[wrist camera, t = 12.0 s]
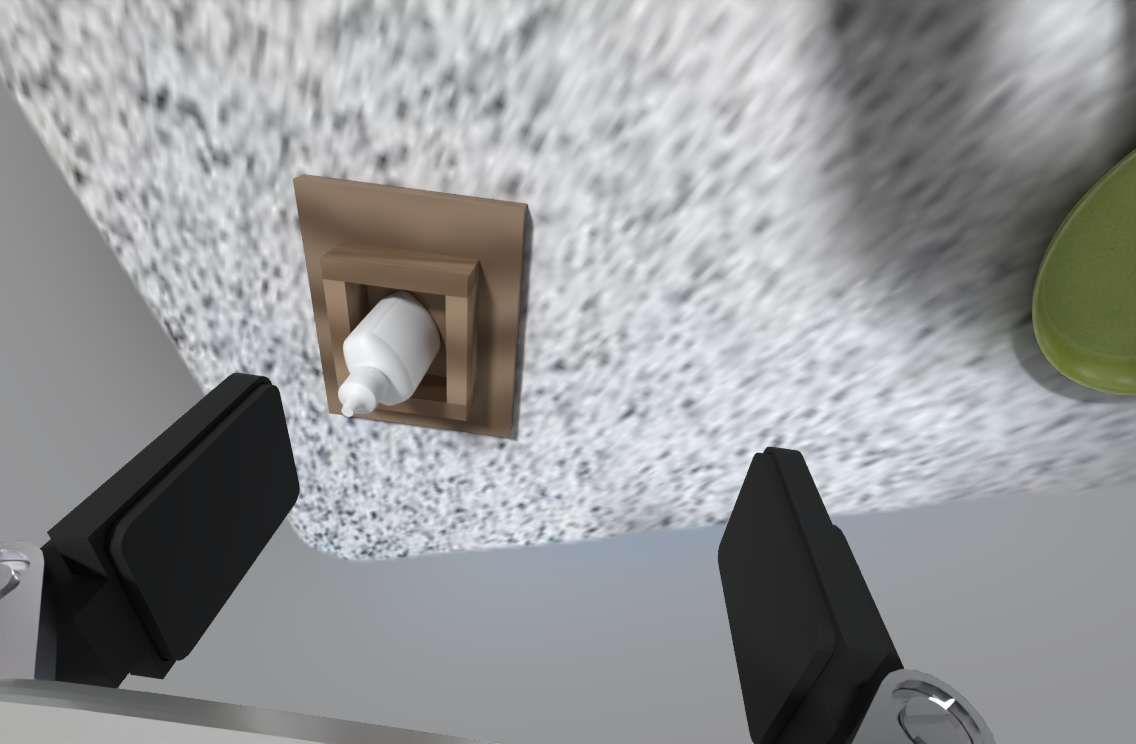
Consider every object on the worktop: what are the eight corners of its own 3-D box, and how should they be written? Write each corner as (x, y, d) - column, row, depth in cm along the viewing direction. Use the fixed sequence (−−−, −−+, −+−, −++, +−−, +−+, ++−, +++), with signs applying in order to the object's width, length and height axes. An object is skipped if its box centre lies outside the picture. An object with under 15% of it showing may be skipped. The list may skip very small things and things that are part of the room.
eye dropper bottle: (439, 291, 41) (378, 375, 30) (442, 356, 43) (388, 452, 33) (382, 285, 41) (302, 367, 30) (389, 350, 44) (319, 444, 33)
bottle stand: (303, 174, 38) (264, 191, 34) (527, 203, 38) (515, 224, 34) (336, 403, 49) (309, 438, 45) (512, 427, 49) (501, 464, 44)
